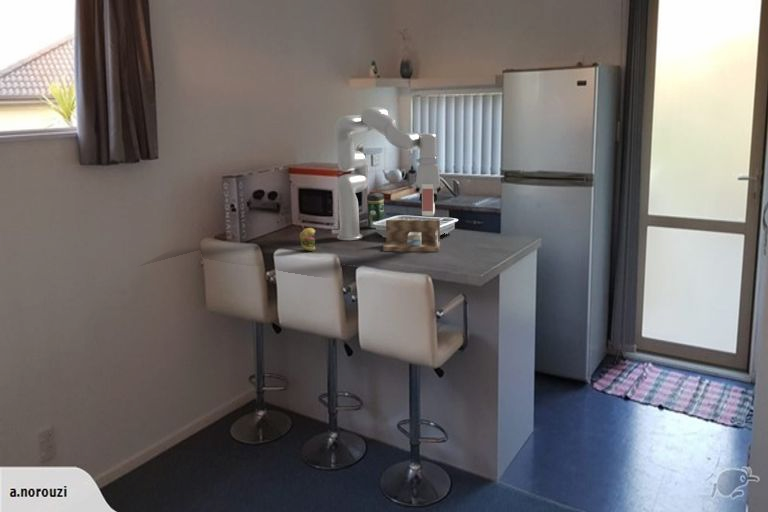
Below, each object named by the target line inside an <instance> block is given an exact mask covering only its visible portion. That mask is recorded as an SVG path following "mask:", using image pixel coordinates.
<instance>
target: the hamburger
mask: <svg viewBox="0 0 768 512" xmlns="http://www.w3.org/2000/svg"><path fill="white" fill-rule="evenodd" d="M302 227H303V230H302V231H301V232H300V233H299V239H300V244H301V248H303V249H305V251H310V252H314V251H316V246H315V245H316V244H315V243H316V242H315V241H316V238H315V233H316V229H314V227H313V228H312V227H307V228H304V225H302Z"/></svg>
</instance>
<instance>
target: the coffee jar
mask: <svg viewBox="0 0 768 512" xmlns="http://www.w3.org/2000/svg"><path fill="white" fill-rule="evenodd" d="M366 197H367V199H366V202H367V227H368V228H369V229H371V230H372V229H373V230H376V225H373V224H372V223H374V222H377V221H380V220H383V219H385V211H384V210H385V208H384V207H385V206H384V205H385V204H384V201H385V197H384V194H383V193H382V192H373V193H371V194H368V195H367V196H366Z"/></svg>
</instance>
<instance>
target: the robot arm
mask: <svg viewBox="0 0 768 512" xmlns="http://www.w3.org/2000/svg"><path fill="white" fill-rule="evenodd" d="M373 130H375V131H376V132H378V133H380V134H381V135H383V136H384V137H385V139H386V140H387V142H388V143H389V144H391V145H392V146H394V147H395V148H397V149H399V150H402V151H406V152H409V151H417V150H419V158H418V159H416V161H415V162H416V163H418V165H417V169H416V180H415V181H414V183H413V184H412V185H411V187H412V188H413V189H414V190H415V191H416V192H417V193H418V195H419V201H420V203H421V204H422V184H433V187H434V203H436V201H437V202H438V193H439V192H441V190H443V189H444V188H445V186H446V185H445V184H444V183H443V181H442V180H441V179H440V167H439V164H437V161H438V160H437V153H438V151H437V149H438V147H437V134H435V133H432V132H431V133H423V132H409V133H405V132H404V131H402V130H400V129H398V128H397V122H396V120H395V119H394V118H393V117H390V115H389V113H388V110H387V109H386V108H384V107H382V106H371V107H370V106H369V107H367V108H365V109H363V110H362V112H361V114H352V115H351V114H350V115H344V116H341V117H340V118H339V119H338V120H337V121H336V122H335V124H334V138H335V143H336V157H337V166H338V169H339V170H340V171H341V172H343V173H344V172H350V173H347V174H342V175H341V176H339V178H337V180H336V184H335V186H336V192H337V195H338V196H337V197H338V209H339V211H338V213H339V229H331V234H332V235H337V236H336V238H337V240H340V241H356V240H357V241H359V240H362V239H363V238H364V237H363V234H361V233H360V217H359V215H360V213H359V212H360V211H359V201H358V197H357V195H356V193H361V192H364V191H365V190H366V189H367V188H368V183H369V180H368V179H369V177H368V174H369V173H368V163H367V157H366V155H365V154H364V153H363V152H362V151H359V150H355V143H354V139H353V137H352V136H351V135H352V134H361V133H367V132H369V131H373Z"/></svg>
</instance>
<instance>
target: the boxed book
mask: <svg viewBox="0 0 768 512" xmlns="http://www.w3.org/2000/svg"><path fill="white" fill-rule="evenodd" d="M435 203H436V202H435ZM435 203H434V187H433V184H422V203H421V215H422V216H423V217H434V215H435V212H436V207H435V205H436V204H435Z"/></svg>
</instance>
